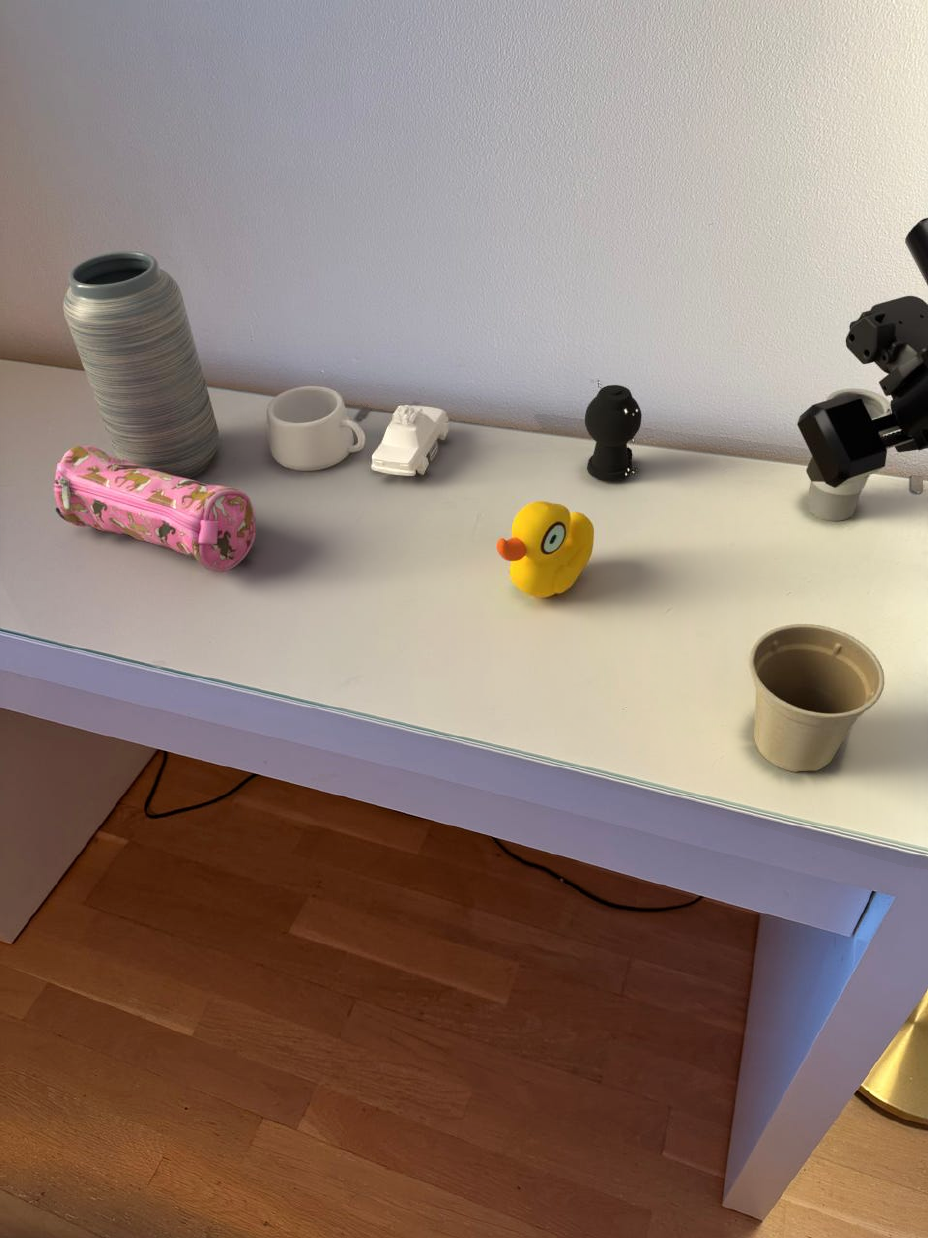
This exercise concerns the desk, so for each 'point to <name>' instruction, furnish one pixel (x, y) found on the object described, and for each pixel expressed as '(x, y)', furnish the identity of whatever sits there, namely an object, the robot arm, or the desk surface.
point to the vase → (142, 362)
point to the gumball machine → (612, 432)
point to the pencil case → (155, 507)
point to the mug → (311, 429)
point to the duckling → (547, 548)
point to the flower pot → (810, 692)
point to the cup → (844, 498)
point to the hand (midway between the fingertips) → (853, 460)
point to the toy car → (410, 440)
